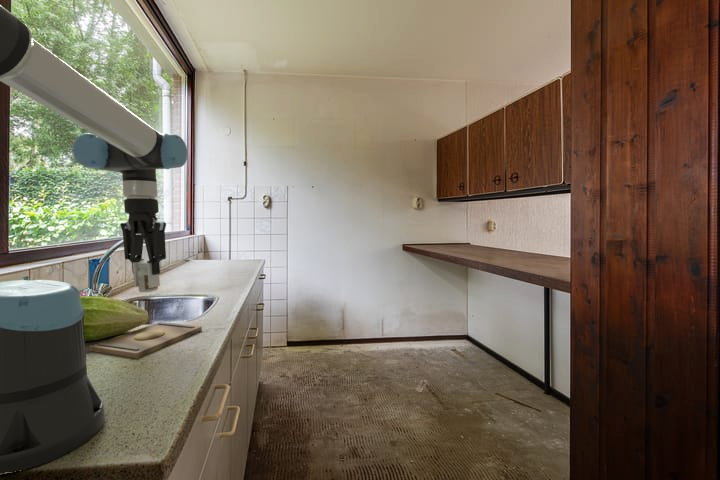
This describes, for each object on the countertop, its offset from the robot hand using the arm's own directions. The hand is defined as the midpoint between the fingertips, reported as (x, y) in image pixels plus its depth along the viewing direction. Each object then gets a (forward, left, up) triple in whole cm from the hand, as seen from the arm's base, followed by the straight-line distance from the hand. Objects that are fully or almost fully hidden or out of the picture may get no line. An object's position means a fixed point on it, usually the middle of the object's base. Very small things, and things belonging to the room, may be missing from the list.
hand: (147, 286), depth 91 cm
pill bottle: (0, 0, -1) cm, 2 cm away
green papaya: (-2, +15, -15) cm, 21 cm away
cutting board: (0, 0, -15) cm, 15 cm away
